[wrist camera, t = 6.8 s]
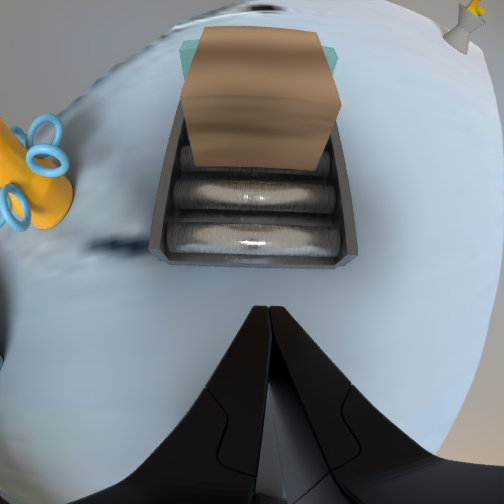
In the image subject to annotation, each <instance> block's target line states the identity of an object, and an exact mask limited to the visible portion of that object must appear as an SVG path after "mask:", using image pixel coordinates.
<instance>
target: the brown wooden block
mask: <svg viewBox="0 0 504 504" xmlns="http://www.w3.org/2000/svg"><path fill="white" fill-rule="evenodd" d="M180 99H181V104H182V108H183V113H184V118H185V122H186V127H187V131H188V136H189V140H190V144H191V149H192V153H193V157H194V161H195V166H231V167H263V168H282V169H297V170H310V171H315V170H316V168H317V165H318V163H319V160H320V158H321V155H322V153H323V150H324V148H325V146H326V143H327V141H328V138H329V136H330V133H331V131H332V128H333V126H334V123H335V120H336V118H337V115H338V113H339V110H340V108H341V101H340V98H339V95H338V91H337V88H336V85H335V82H334V79H333V76H332V73H331V70H330V67H329V65H328V62H327V59H326V56H325V54H324V51H323V48H322V46H321V43H320V41H319V38H318V36H317V33H315V32H309V31H301V30H293V29H284V28H272V27H255V26H215V27H205V28H204V31H203V33H202V36H201V38H200V41H199V43H198V46H197V49H196V51H195V54H194V57H193V59H192V62H191V65H190V68H189V71H188V74H187V77H186V80H185V83H184V86H183V89H182V92H181V96H180Z"/></svg>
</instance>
